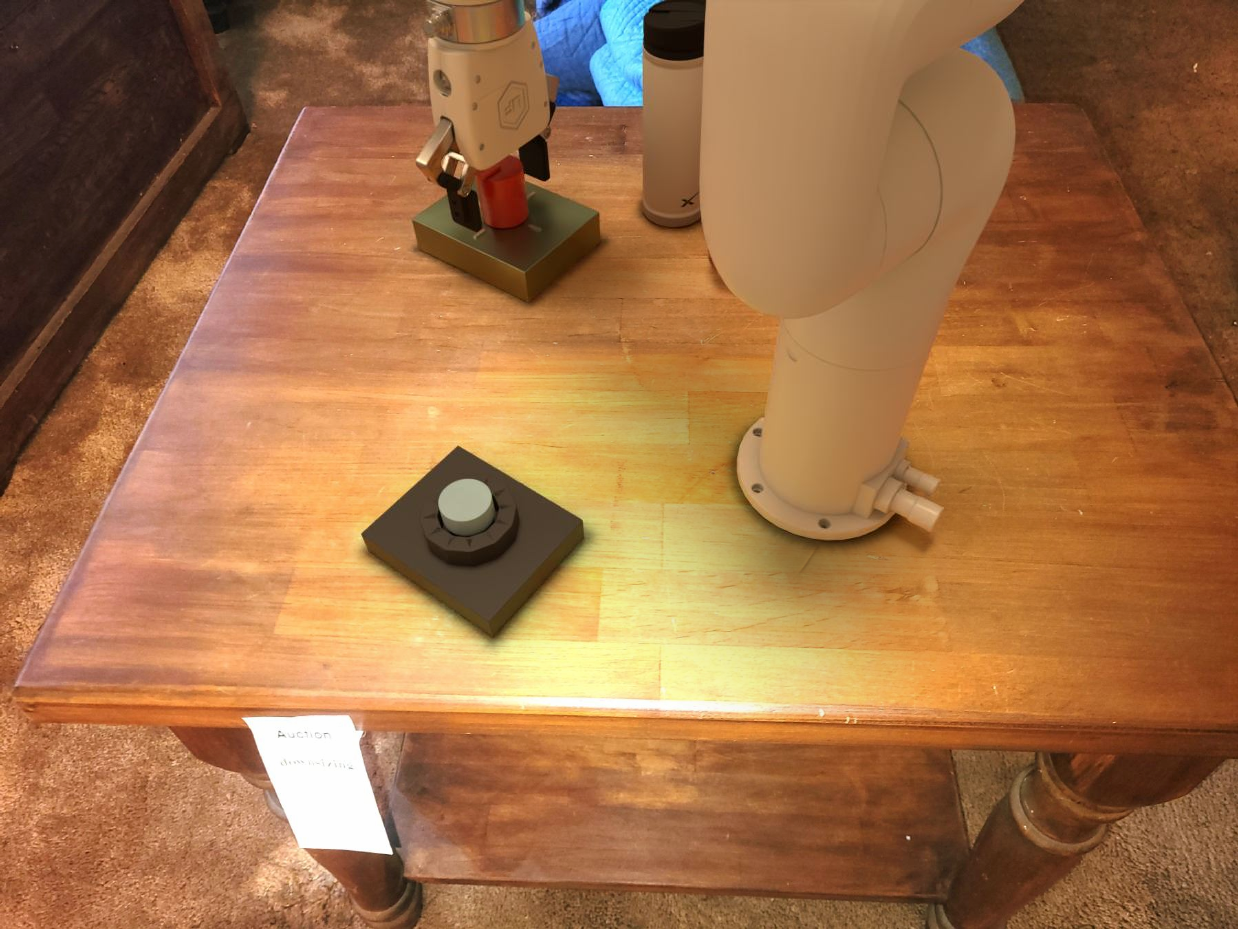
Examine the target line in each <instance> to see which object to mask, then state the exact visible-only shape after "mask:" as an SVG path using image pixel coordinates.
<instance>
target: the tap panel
mask: <svg viewBox="0 0 1238 929" xmlns="http://www.w3.org/2000/svg"><path fill="white" fill-rule="evenodd" d="M525 185H526V194H527V202H528V211H529V214H528V217H527V219H526V220H525V221H524V222H523V223H521V224H519V225H517V226H515V227H511V228H495V227H492V226H489V225H488V224H486V223H485V222H484V220H483V218H482V213H481V208H480V213H481V219H482V229H481V230H480V231H479V232H477V233H476V232H474V231H472V230H470V229H468V228H466V227H463V226H461V225H459V224H457V223H455V222H454V221H453V219H452V216H451V211H450V206H449V201H448V196H447V194H445V195H444V196H442V197H441V198H439V199H438V200H436V201H435V202H434V203H433V204H431V205H430V206H428V207H427V208H425V209H424V210H422V211H421V212H420V213H418V214H417V215H415V216H414V217H412V218H411V222H412V226H413V227H412V228H413V230H414V235H415V238H416V239H415V240H416V244H417V247H418V250H420V251H422V252H424V253H426V254H428V255H430V256H432V257H434V258H436V259H438V260H440V261H442V262H444V263H446V264H449V265H451V266H452V267H455V268H456V269H459V270H461V271H462V272H464V273H466V274H469V275H471V276H472V277H475V278H477V279H479V280H481V281H483V282H485V283H488V284H490V285H492V286H493V287H495V288H497V289H499V290H501V291H504V292H505V293H507V294H510V295H511V296H513V297H516V298H518V299H520V300H522V301H524V302H526V303H531V301H533V300H534V299H536V297H537V296H539V295H540V294H542V293H543V291H544V290H546V289H547V288H548V287H549V286H550V285H552V284H553V283H554V282H556V280H558V279H559V278H560V277H561V276H563V275H564V274H565V273H566V272H567V271H568V270H569V269H571V268H572V267H573V266H574V265H575V264H577V263H578V262H579V261H581V259H583V257H585V256H586V255H588V253H590V252H591V251H592V250H594V248H596V247H597V246H598V245H599V244H601V242H602V239H601V218H600V217H601V216H600V211H598V210H597V209H594V208H591V207H589V206H587V205H584V204H582V203H579V202H577V201H575V200H573V199H570V198H567V197H565V196H563V195H560V194H558V193H555V192H554V191H551V190H549V189H546V188H544V187H542V186H539V185H537V184H535V183H532V182H530V181H527V180H525ZM471 189H472V190H474V191H475V192H476V193H477V195H478V190H477V184H476V178H474V181H473V185H472V188H471ZM478 201H479V196H478ZM479 207H480V202H479Z"/></svg>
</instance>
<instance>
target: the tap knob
mask: <svg viewBox="0 0 1238 929" xmlns="http://www.w3.org/2000/svg"><path fill="white" fill-rule="evenodd" d="M475 178H476V184H477V190H478V196H479V202H480V208H481V213H482V218H483V220H484V222H485V223H486V224H488V225H489V226H492V227H495V228H511V227H515V226H517V225H519V224H521V223H523V222H524V221H525V220H526V219H527V217H528V214H529V211H528V202H527V194H526V185H525V181H526V177H525V174H524V168H523V164H522V162H521V161H520V159H519V157H516V156H514V155H512V154H510V155H508V156H507V157H505V158H504V159H503V160H501V161H500V162H498V163H497V164H495V165H494V166H492V167H490V168H488V169H486V170H477V172H476V175H475Z"/></svg>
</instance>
